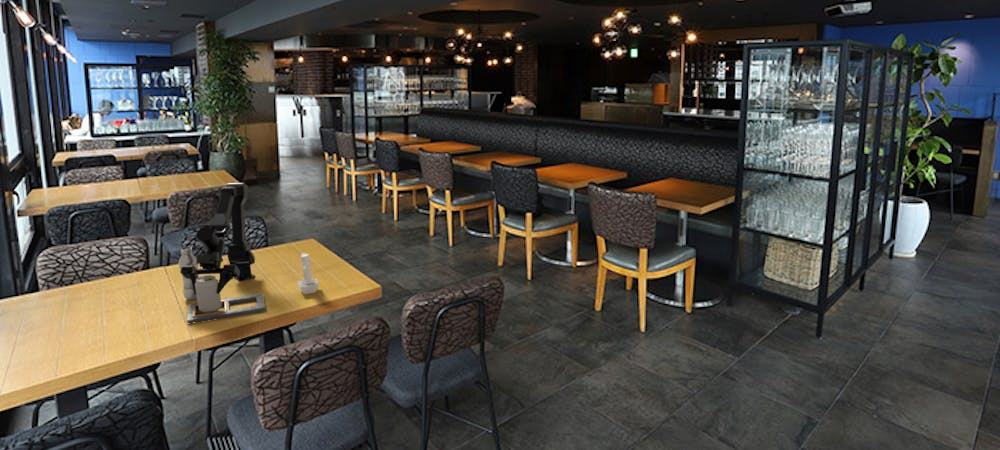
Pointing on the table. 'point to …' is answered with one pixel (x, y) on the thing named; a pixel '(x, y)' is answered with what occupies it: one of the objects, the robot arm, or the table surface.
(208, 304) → the can
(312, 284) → the figurine
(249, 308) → the rail plate
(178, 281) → the table surface
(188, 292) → the plastic bottle
